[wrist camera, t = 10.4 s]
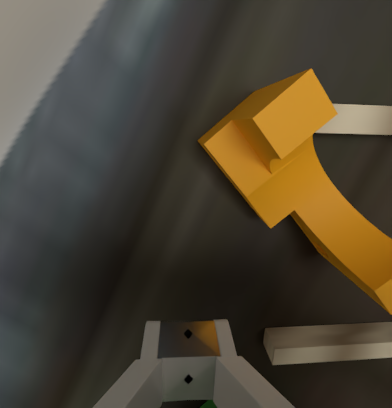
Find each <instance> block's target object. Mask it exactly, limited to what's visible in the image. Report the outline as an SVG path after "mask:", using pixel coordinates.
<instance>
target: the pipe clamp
mask: <svg viewBox="0 0 392 408" xmlns="http://www.w3.org/2000/svg"><path fill="white" fill-rule="evenodd" d="M337 114H338V113H337V112H336V110H335V108H334V106H333V105H332V103H331V101H330V100H329V98H328V96H327V94H326V93H325V91H324V89H323V88H322V86H321V84H320V82H319V81H318V79H317V77H316V76H315V74H314V72H313V70H312V69H308V70H306V71H303V72H301V73H298V74H296V75H293V76H291V77H288V78H286V79H284V80H281V81H279V82H276V83H274V84H271V85H269V86H266V87H264V88H261V89H259V90H256V91H254V92H253V93H252V94H251V95H249V96H248V97H247V98H246V99H245V100H244V101H242V102H241V103H240V104H239V105H238V106H237V107H236V108H234V109H233V110H232V111H231V112H230V113H229V114H227V115H226V116H225V117H224V118H223V119H222V120H221V121H219V122H218V123H217V124H216V125H215V126H214V127H212V128H211V129H210V130H209V131H208V132H207V133H206V134H204V135H203V136H202V137H201V138H200V139H199V140H197V141H198V142H199V143H200V145H201V146H202V147H203V148H204V150H205V151H206V152H207V153H208V154H209V156H210V157H211V158H212V159H213V161H214V162H215V163H216V164H217V166H218V167H219V168H220V169H221V171H222V172H223V173H224V174H225V176H226V177H227V178H228V179H229V180H230V182H231V183H232V184H233V185H234V187H235V188H236V189H237V190H238V192H239V193H240V194H241V195H242V197H243V198H244V199H245V200H246V202H247V203H248V204H249V205H250V206H251V208H252V209H253V210H254V211H255V213H256V214H257V215H258V216H259V217H260V218H261V219H262V220H263V221H264V222H265V223H266V224H267V226H268V227H269V228H270V229H271V228H272V227H273V226H275V225H276V224H277V223H278V222H280V221H281V220H282V219H284V218H285V217H286V216H287V215H289V214H290V215H291V216H292V218H293V219H294V220H295V222H296V223H297V224H298V226H299V227H300V228H301V229H302V231H303V232H304V233H305V235H306V236H307V237H308V239H309V240H310V241H311V243H312V244H313V245H314V247H315V248H316V249H317V251H318V252H319V253H320V254H321V255H322V256H323V257H324V258H325V259H327V260H328V261H329V262H330V263H331V264H332V265H334V266H335V267H336V268H337V269H338V270H339V271H341V272H342V273H343V274H344V275H345V276H346V277H348V278H349V279H350V280H351V281H352V282H353V283H355V284H356V285H357V286H358V287H359V288H360V289H362V290H363V291H364V292H365V293H366V294H367V295H369V296H370V297H371V298H372V299H373V300H374V301H375V302H377V303H378V304H379V305H380V306H381V307H382V308H384V309H385V310H386V311H387V312H388V313H389V314H391V315H392V239H391V238H389V237H388V236H386V235H385V234H384V233H382V232H381V231H380V230H379V229H377V228H376V227H375V226H374V225H372V224H371V223H370V222H369V221H368V220H366V219H365V218H364V217H363V216H362V215H361V214H360V213H359V212H358V211H357V210H356V209H355V208H354V207H353V206H352V205H351V204H350V203H349V202H348V201H347V200H346V199H345V198H344V197H343V196H342V194H341V193H340V192H339V191H338V190H337V188H336V187H335V186H334V185H333V183H332V182H331V180H330V179H329V178H328V176H327V175H326V173H325V171H324V170H323V168H322V166H321V164H320V162H319V160H318V158H317V156H316V153H315V150H314V146H313V134H314V133H315V132H316V131H317V130H319V129H320V128H321V127H322V126H323V125H325V124H326V123H327V122H328V121H330V120H331V119H332V118H333V117H335V116H336V115H337Z"/></svg>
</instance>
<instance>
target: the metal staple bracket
mask: <svg viewBox="0 0 392 408" xmlns="http://www.w3.org/2000/svg"><path fill="white" fill-rule="evenodd" d="M332 105H333V106H334V108H335V110H336V112H337V113H338V114H337V115H336V116H335V117H333V118H332V119H331V120H330V121H328V122H327V123H326V124H325V125H323V126H322V127H321V128H320V129H319V130H317V131H316V132H315V133H340V134H376V135H392V106H375V105H350V104H332ZM263 344H264V346H265V349H266V351H267V353H268V356H269V358H270V360H271V363H272V365H284V364H299V363H314V362H330V361H345V360H360V359H376V358H391V357H392V322H375V323H355V324H335V325H315V326H295V327H275V328H265V333H264V340H263Z"/></svg>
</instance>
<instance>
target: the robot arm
mask: <svg viewBox="0 0 392 408" xmlns="http://www.w3.org/2000/svg"><path fill="white" fill-rule="evenodd" d="M180 400H213V402H214V403H215V405H216V406H217V408H295V407H294V406H293V405H292V404H291V403H290V402H289V401H288V400H287V399H286V398H285V397H283V396H282V395H281V394H280V393H279V392H278V391H277V390H276V389H275V388H274V387H273V386H272V385H271V384H270V383H269V382H268V381H267V380H266V379H265V378H264V377H263V376H262V375H261V374H260V373H259V372H257V371H256V370H255V369H254V368H253V367H252V366H251V365H250V364H249V363H248V362H247V361H246V360H245V359H244V358H243V357H242V356H237V353H236V349H235V345H234V341H233V338H232V334H231V330H230V326H229V322H228V320H227V319H218V320H193V321H147V322H146V325H145V331H144V337H143V343H142V350H141V356H140V359H138V360H135V361H134V362H133V363H132V364H131V365H130V366H129V368H128V369H127V370H126V371H125V372H124V373H123V374H122V375H121V376H120V378H119V379H118V380H117V381H116V382H115V383H114V384H113V385H112V387H111V388H110V389H109V390H108V391H107V392H106V393H105V394H104V395H103V397H102V398H101V399H100V400H99V401H98V402H97V403H96V404H95V405H94V407H93V408H160V407H161V405H162V402H168V401H180Z"/></svg>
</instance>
